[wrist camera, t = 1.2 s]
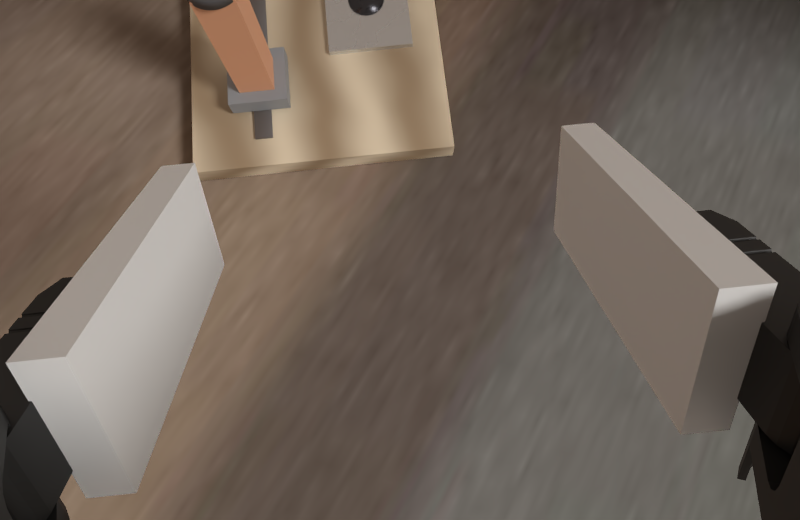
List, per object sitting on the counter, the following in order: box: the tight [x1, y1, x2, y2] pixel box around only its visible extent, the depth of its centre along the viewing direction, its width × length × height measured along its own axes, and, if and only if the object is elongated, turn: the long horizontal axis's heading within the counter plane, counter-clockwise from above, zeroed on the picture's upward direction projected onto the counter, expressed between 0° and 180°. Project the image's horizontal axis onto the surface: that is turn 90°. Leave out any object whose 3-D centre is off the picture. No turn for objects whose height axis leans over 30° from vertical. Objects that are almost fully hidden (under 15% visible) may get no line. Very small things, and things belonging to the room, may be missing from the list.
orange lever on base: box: [188, 0, 291, 113], centre depth 34 cm, size 4×4×11 cm
